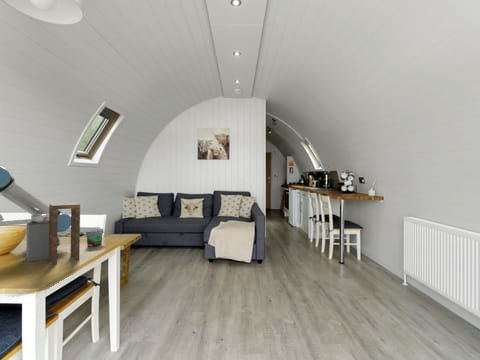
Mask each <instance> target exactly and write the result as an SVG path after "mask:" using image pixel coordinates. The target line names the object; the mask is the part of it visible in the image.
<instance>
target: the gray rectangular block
mask: <svg viewBox="0 0 480 360" xmlns="http://www.w3.org/2000/svg"><path fill="white" fill-rule="evenodd" d="M25 246H26V249H25V251H26V254H25V257H26V260H27V263H28V262H34V261H40V260H41V261H42V260H44V259H45V260H47V259H49V223H39V224H34V223H30V224H26V245H25Z"/></svg>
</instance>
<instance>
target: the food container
mask: <svg viewBox="0 0 480 360" xmlns="http://www.w3.org/2000/svg"><path fill="white" fill-rule="evenodd" d="M104 233H105V231H104V229H103V228H99V229H98V230H93V231H86V233H85V236H86V246H87V248H96V247H99V246H102V243H103V236H104V235H103V234H104Z"/></svg>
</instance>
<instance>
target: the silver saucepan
mask: <svg viewBox="0 0 480 360" xmlns="http://www.w3.org/2000/svg"><path fill="white" fill-rule="evenodd" d="M30 216H31V217H30V218H29V219H28V218H26V219H17V220H16V219H15V220H3V221H1V222H0V227H5V226H17V225H27V224H30V223H34V224H39V223H49V214H35V215H31V214H30Z"/></svg>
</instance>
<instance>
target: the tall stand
mask: <svg viewBox="0 0 480 360" xmlns="http://www.w3.org/2000/svg"><path fill="white" fill-rule="evenodd" d="M48 206H49V258H48V262H51V265H57V263H58V245H57V235H58V232H57V231H58V210H68V209H69V210H70V212H71V213H70V216H71V226H70V258H73V260H75V261H79V260H80V243H81V240H80V239H81V238H80V237H81V236H80V235H81V203H78V202H70V203H68V202H67V203H49V205H48Z"/></svg>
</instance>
